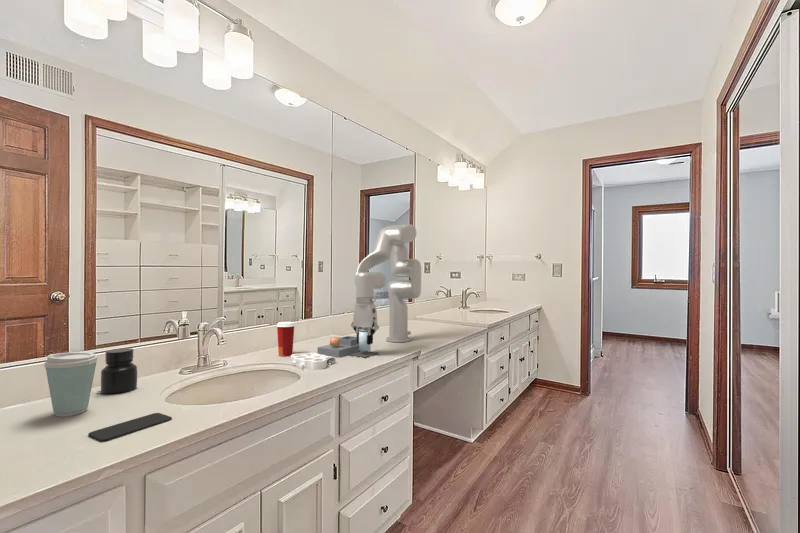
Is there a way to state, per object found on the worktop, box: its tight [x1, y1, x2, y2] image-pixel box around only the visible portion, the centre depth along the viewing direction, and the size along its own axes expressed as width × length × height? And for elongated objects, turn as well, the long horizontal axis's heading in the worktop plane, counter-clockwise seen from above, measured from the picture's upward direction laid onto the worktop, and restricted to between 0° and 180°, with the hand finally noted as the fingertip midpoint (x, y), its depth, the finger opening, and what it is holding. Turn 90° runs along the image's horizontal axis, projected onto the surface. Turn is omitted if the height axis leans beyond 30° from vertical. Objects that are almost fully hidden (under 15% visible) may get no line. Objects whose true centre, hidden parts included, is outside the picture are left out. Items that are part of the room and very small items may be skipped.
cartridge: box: [359, 328, 371, 352], centre depth 166 cm, size 5×5×9 cm
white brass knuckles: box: [290, 352, 337, 370], centre depth 150 cm, size 3×18×15 cm
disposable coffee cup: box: [43, 351, 99, 418], centre depth 98 cm, size 11×11×15 cm
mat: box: [349, 350, 380, 359], centre depth 166 cm, size 10×8×1 cm
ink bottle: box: [100, 347, 138, 395], centre depth 117 cm, size 10×9×12 cm
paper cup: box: [276, 321, 296, 358], centre depth 165 cm, size 8×8×14 cm
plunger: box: [329, 336, 341, 348], centre depth 168 cm, size 4×4×7 cm
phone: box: [88, 412, 173, 443], centre depth 89 cm, size 7×1×15 cm
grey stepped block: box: [317, 335, 361, 358], centre depth 173 cm, size 20×12×6 cm, turn 148°
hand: (364, 342), depth 166 cm, fingers closed on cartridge, 4 cm apart
